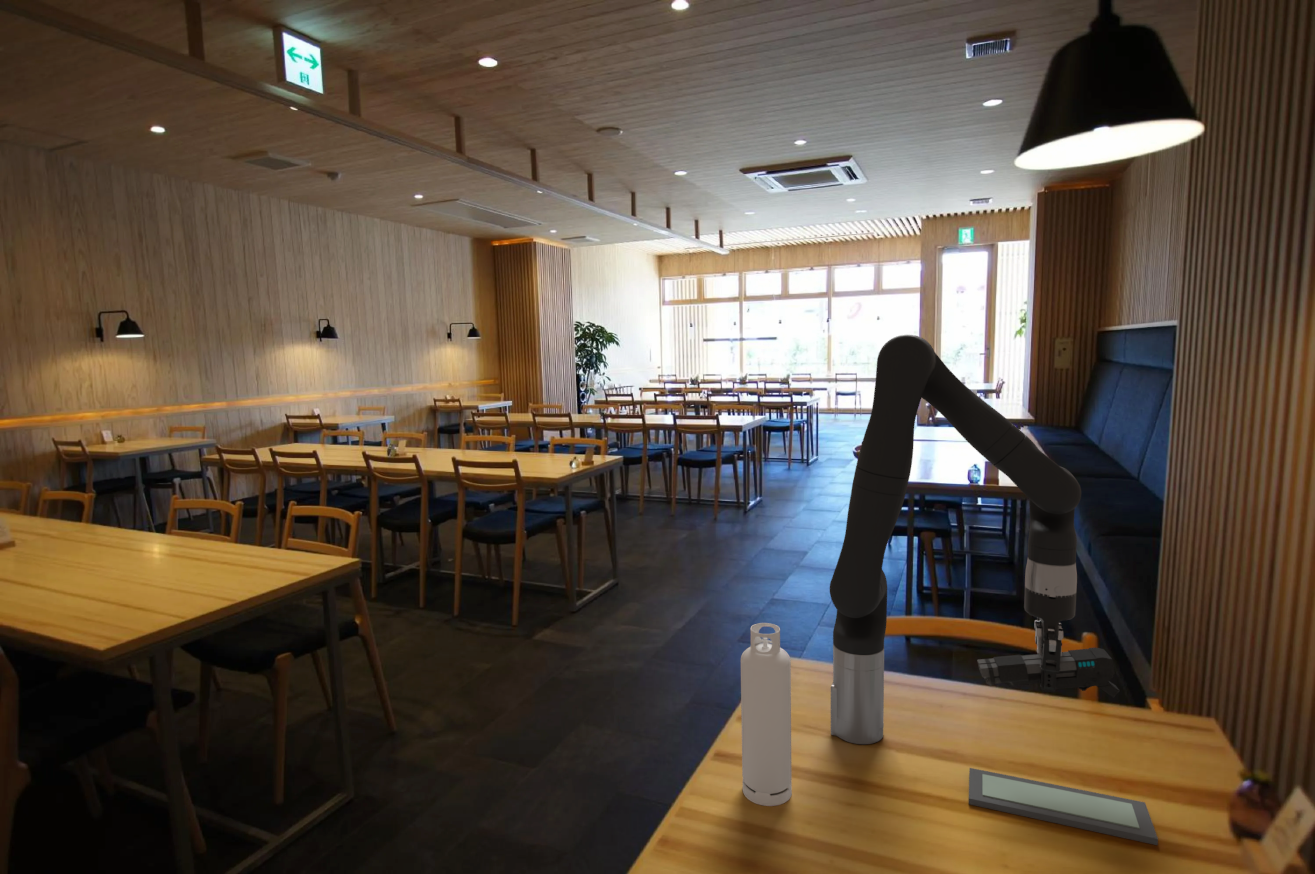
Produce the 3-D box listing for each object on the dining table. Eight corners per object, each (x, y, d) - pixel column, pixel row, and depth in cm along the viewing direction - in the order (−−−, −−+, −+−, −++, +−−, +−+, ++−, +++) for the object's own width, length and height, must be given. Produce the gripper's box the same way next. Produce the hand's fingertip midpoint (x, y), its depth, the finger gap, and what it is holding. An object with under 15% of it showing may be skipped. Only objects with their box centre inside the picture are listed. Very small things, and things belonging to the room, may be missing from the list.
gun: (1126, 699, 115) (1106, 641, 114) (999, 724, 120) (979, 670, 120) (1117, 686, 119) (1097, 631, 119) (994, 711, 125) (975, 658, 125)
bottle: (795, 780, 120) (794, 621, 117) (787, 809, 112) (786, 640, 109) (748, 772, 122) (745, 617, 119) (737, 800, 115) (735, 635, 112)
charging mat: (968, 804, 112) (968, 796, 112) (969, 773, 120) (969, 766, 120) (1157, 845, 102) (1158, 837, 102) (1144, 808, 110) (1145, 801, 110)
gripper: (1022, 571, 126) (1018, 663, 128) (1028, 597, 113) (1024, 699, 115) (1070, 575, 123) (1066, 669, 125) (1082, 603, 110) (1077, 707, 112)
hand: (1046, 683), depth 120 cm, fingers closed on gun, 4 cm apart
